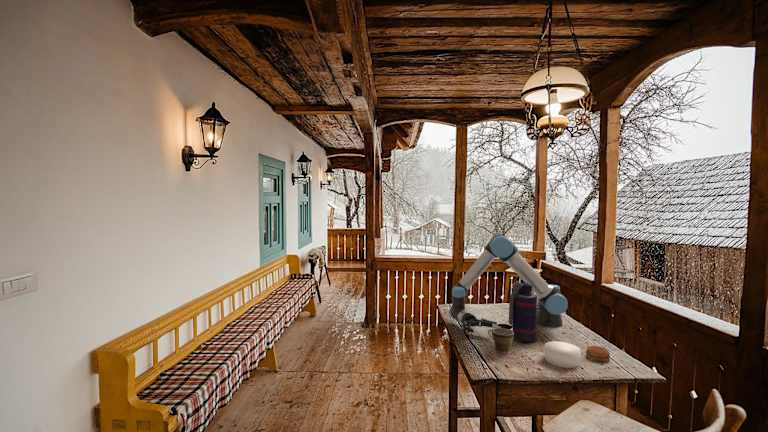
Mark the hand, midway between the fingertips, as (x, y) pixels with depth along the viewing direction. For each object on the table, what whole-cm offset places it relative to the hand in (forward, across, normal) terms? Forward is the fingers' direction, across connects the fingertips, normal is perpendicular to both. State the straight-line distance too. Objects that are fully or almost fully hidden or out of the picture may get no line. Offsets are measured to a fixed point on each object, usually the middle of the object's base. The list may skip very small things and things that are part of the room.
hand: (489, 331), depth 190 cm
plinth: (+28, -20, -6) cm, 35 cm away
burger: (+31, -38, -7) cm, 50 cm away
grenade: (+1, -20, -7) cm, 21 cm away
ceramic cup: (+9, 0, -7) cm, 11 cm away
